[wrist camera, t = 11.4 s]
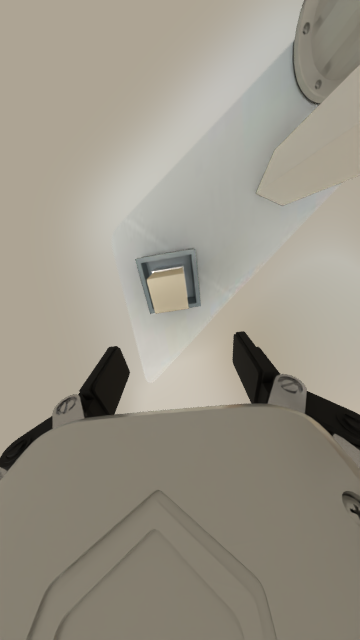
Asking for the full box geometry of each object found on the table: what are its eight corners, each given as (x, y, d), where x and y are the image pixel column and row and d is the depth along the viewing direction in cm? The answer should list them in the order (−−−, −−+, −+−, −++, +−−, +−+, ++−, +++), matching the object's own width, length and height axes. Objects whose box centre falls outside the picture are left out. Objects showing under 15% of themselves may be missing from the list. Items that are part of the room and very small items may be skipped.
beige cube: (182, 267, 26) (183, 273, 20) (186, 296, 29) (188, 308, 23) (153, 272, 26) (146, 279, 21) (159, 300, 29) (155, 313, 23)
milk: (273, 150, 24) (746, -336, 4) (303, 165, 25) (809, -170, 5) (254, 194, 26) (486, 32, 7) (282, 207, 27) (559, 97, 7)
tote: (192, 248, 30) (195, 248, 25) (197, 297, 35) (200, 306, 30) (141, 257, 31) (135, 259, 26) (153, 304, 36) (150, 313, 31)
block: (182, 263, 31) (183, 266, 26) (186, 290, 33) (187, 297, 29) (155, 268, 31) (151, 271, 26) (161, 294, 34) (158, 301, 29)
